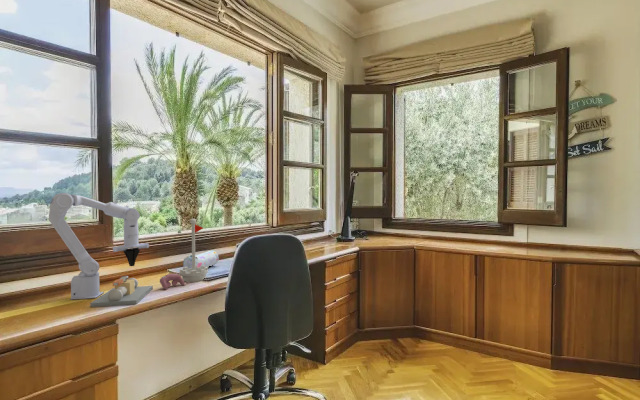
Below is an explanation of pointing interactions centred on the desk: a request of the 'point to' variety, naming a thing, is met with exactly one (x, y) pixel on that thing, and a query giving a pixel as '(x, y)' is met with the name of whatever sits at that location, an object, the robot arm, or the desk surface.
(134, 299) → the valve board
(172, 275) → the pink animal figurine
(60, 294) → the desk surface
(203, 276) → the flag stand
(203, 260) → the pencil case
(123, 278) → the valve lever
